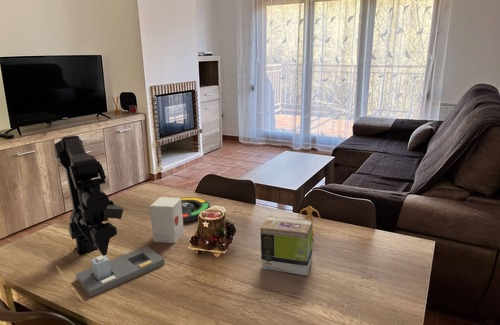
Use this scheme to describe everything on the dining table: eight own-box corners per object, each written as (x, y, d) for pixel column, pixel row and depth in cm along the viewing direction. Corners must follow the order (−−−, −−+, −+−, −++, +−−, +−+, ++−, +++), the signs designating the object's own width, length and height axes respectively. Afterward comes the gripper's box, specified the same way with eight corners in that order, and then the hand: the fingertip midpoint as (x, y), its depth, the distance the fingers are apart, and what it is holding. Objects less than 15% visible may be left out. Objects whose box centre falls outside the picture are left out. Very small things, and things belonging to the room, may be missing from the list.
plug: (94, 279, 112) (90, 257, 109) (107, 274, 114) (103, 252, 112) (99, 284, 109) (95, 262, 107) (112, 279, 111) (108, 257, 109)
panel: (77, 280, 112) (75, 272, 111) (147, 252, 127) (146, 245, 127) (90, 298, 103) (89, 290, 103) (164, 265, 119) (164, 258, 118)
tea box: (312, 260, 120) (313, 219, 116) (307, 277, 111) (308, 233, 106) (269, 253, 125) (268, 214, 120) (260, 269, 115) (259, 227, 111)
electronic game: (201, 200, 174) (201, 190, 173) (217, 218, 154) (216, 207, 153) (153, 208, 165) (152, 199, 164) (163, 229, 145) (162, 218, 144)
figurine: (296, 239, 134) (296, 209, 130) (298, 231, 139) (299, 203, 136) (319, 241, 132) (320, 211, 128) (320, 233, 137) (321, 204, 134)
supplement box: (175, 244, 132) (172, 207, 128) (153, 242, 134) (148, 205, 130) (184, 233, 141) (181, 197, 136) (163, 231, 142) (159, 196, 138)
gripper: (131, 202, 102) (137, 250, 107) (106, 186, 116) (112, 230, 120) (91, 213, 95) (100, 265, 100) (69, 196, 109) (77, 242, 113)
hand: (98, 249), depth 108 cm, fingers open, 9 cm apart
